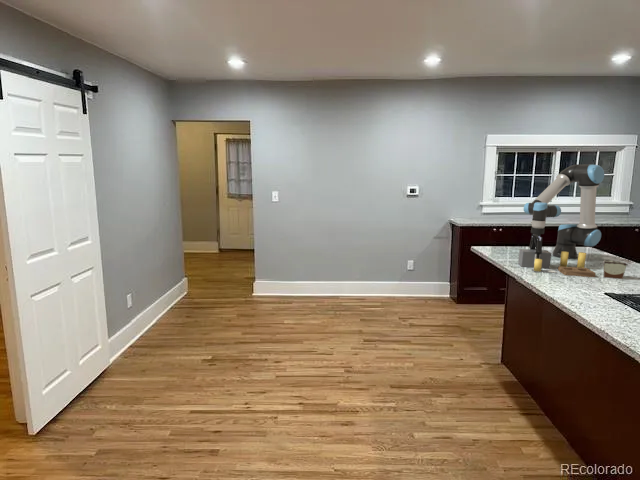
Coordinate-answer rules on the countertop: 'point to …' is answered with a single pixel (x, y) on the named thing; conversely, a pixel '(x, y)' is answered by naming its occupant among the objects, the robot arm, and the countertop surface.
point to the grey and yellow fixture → (538, 267)
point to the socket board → (576, 271)
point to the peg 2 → (581, 260)
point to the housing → (533, 258)
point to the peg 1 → (564, 259)
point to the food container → (614, 268)
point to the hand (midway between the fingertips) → (534, 261)
